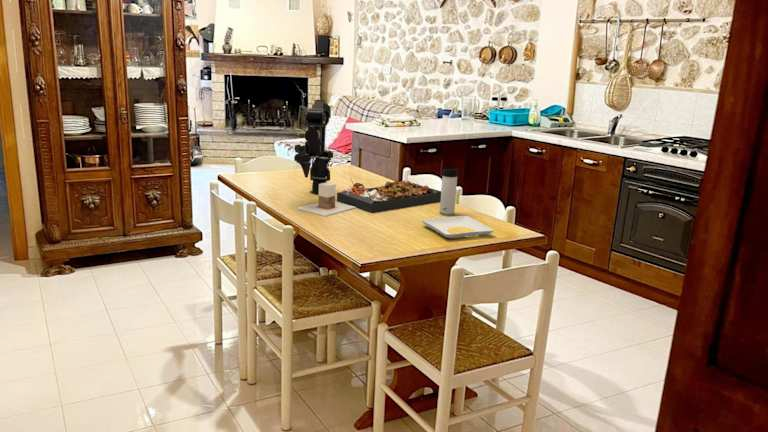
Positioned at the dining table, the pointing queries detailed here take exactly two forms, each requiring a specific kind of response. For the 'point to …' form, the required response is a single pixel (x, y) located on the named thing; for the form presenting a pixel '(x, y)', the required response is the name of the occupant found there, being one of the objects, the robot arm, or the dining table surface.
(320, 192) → the offwhite cube
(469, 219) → the salad plate
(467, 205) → the dining table surface
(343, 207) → the blueprint board
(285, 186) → the dining table surface
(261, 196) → the dining table surface
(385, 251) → the dining table surface
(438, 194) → the food platter
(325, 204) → the walnut cube
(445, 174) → the travel mug
